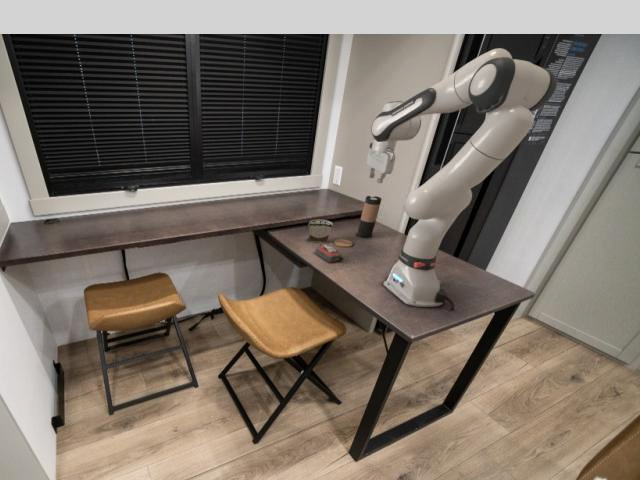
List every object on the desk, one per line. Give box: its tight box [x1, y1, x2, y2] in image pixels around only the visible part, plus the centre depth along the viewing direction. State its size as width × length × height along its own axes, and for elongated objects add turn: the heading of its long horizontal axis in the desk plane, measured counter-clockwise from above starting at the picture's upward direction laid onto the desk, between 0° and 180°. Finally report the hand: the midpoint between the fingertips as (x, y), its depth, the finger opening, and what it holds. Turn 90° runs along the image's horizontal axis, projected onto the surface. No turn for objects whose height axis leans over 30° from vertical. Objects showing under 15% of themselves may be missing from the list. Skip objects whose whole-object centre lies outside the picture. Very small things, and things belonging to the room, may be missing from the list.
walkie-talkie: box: [315, 242, 344, 263], centre depth 145 cm, size 9×4×20 cm
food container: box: [307, 218, 334, 244], centre depth 158 cm, size 12×6×10 cm, turn 85°
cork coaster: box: [333, 238, 353, 248], centre depth 157 cm, size 9×9×1 cm
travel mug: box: [357, 195, 382, 239], centre depth 161 cm, size 8×8×20 cm
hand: (375, 180), depth 139 cm, fingers open, 8 cm apart
